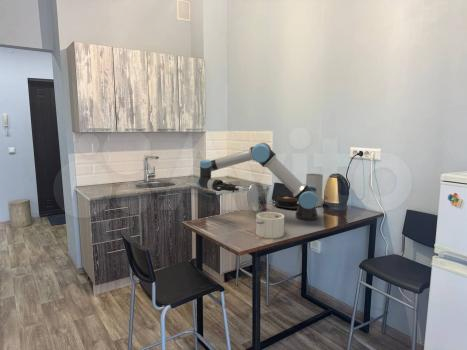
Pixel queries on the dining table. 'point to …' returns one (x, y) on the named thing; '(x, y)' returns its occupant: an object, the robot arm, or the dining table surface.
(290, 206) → the casserole
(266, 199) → the candy bar box
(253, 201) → the lid
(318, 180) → the cylinder vase
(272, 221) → the stockpot
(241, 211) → the dining table surface
